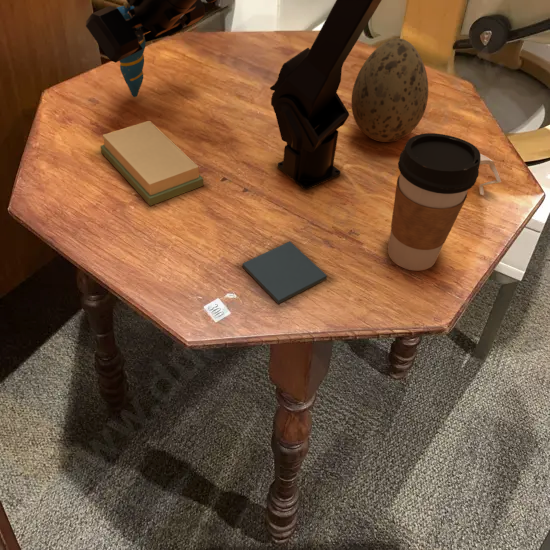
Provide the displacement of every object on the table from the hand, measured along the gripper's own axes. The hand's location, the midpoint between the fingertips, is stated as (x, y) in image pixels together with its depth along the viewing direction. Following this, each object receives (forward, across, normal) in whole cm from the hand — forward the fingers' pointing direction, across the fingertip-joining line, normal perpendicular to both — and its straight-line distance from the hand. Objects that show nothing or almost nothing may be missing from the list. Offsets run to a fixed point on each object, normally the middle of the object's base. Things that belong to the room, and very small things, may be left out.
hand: (123, 46), depth 90 cm
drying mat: (-23, +19, +35) cm, 46 cm away
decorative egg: (-20, -14, +32) cm, 41 cm away
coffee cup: (-30, +7, +43) cm, 53 cm away
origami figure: (-30, -10, +42) cm, 52 cm away
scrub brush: (-5, +13, +17) cm, 22 cm away
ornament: (+4, 0, +6) cm, 8 cm away
